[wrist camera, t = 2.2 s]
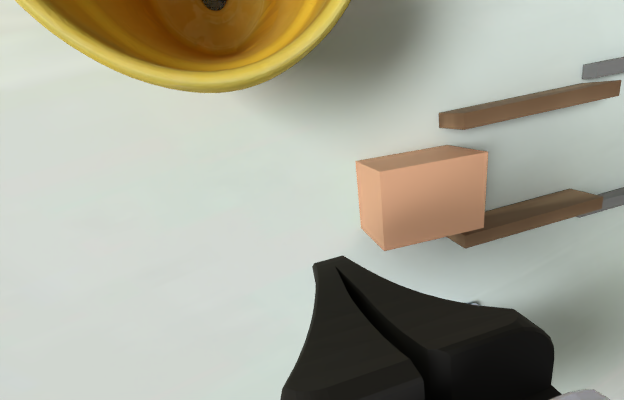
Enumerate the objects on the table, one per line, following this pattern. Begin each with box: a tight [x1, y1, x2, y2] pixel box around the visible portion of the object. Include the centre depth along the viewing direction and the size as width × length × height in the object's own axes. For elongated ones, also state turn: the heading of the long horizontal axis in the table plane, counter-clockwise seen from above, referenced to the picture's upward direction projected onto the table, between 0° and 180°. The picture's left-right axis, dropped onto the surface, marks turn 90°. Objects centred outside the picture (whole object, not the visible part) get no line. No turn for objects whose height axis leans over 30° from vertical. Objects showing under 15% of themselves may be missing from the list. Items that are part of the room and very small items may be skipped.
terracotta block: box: [356, 145, 488, 251], centre depth 20 cm, size 5×7×4 cm
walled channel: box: [439, 80, 621, 248], centre depth 22 cm, size 9×12×2 cm
